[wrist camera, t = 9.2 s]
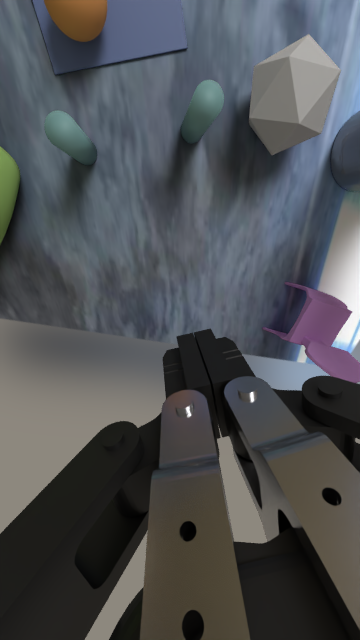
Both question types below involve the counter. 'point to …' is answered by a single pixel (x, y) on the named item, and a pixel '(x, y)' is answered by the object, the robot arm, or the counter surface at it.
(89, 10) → the ball
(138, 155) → the counter surface
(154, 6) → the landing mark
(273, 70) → the die
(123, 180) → the counter surface
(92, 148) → the post
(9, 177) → the teapot
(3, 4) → the counter surface
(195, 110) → the post
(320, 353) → the toy chair
